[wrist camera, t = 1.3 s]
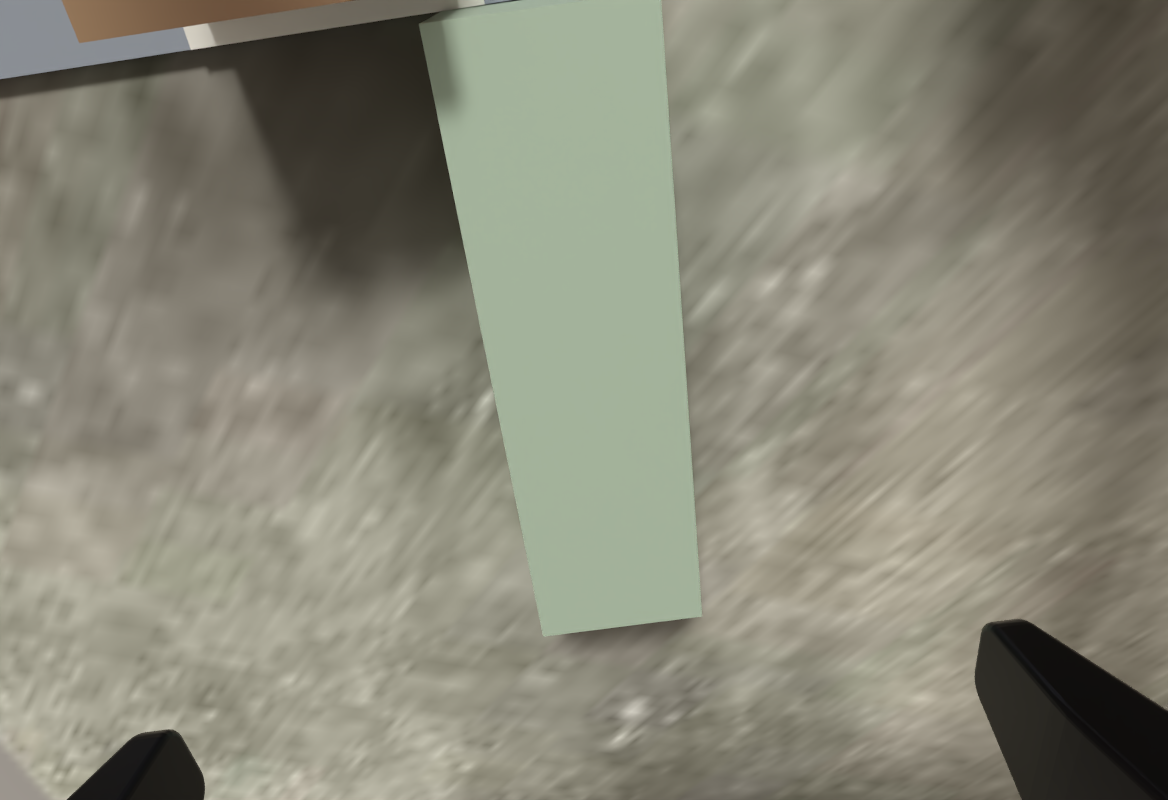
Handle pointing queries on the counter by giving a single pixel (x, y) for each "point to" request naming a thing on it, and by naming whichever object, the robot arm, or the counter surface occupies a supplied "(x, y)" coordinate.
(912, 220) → the counter surface
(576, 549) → the plank
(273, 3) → the tan wood block
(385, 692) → the counter surface
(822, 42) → the counter surface
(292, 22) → the mat
